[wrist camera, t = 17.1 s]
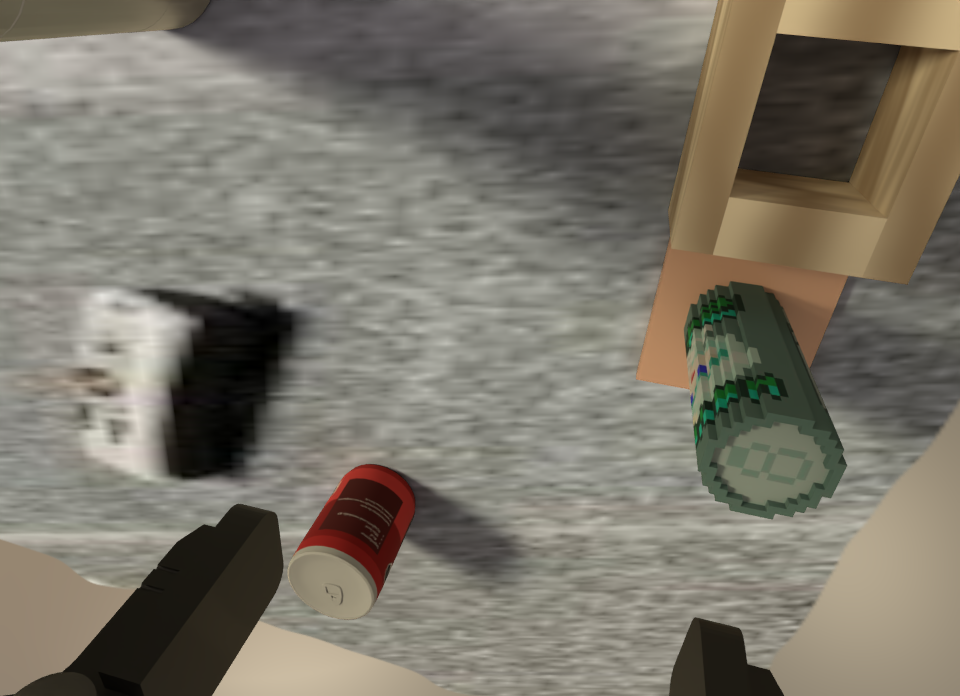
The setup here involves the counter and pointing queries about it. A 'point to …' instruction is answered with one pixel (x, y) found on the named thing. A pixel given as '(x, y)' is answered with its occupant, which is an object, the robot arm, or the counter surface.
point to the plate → (694, 273)
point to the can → (757, 406)
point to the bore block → (810, 201)
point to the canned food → (353, 543)
